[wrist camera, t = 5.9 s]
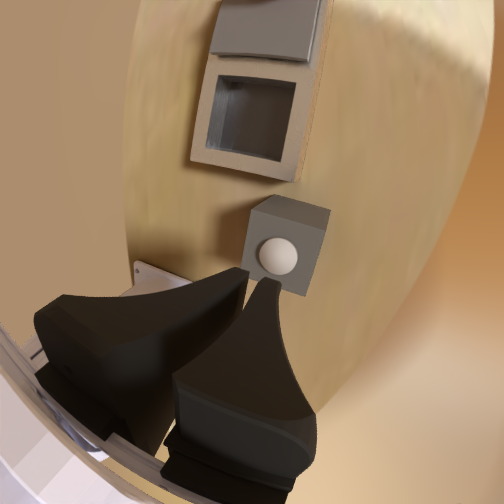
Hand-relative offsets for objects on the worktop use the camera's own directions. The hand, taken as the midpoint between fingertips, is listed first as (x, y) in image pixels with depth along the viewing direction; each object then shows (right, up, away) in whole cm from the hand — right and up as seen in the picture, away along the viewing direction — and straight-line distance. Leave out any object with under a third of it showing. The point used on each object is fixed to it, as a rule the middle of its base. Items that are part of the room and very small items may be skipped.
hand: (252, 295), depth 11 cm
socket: (+1, +14, +5) cm, 15 cm away
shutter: (+1, +16, +1) cm, 16 cm away
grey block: (+3, +3, +8) cm, 10 cm away
